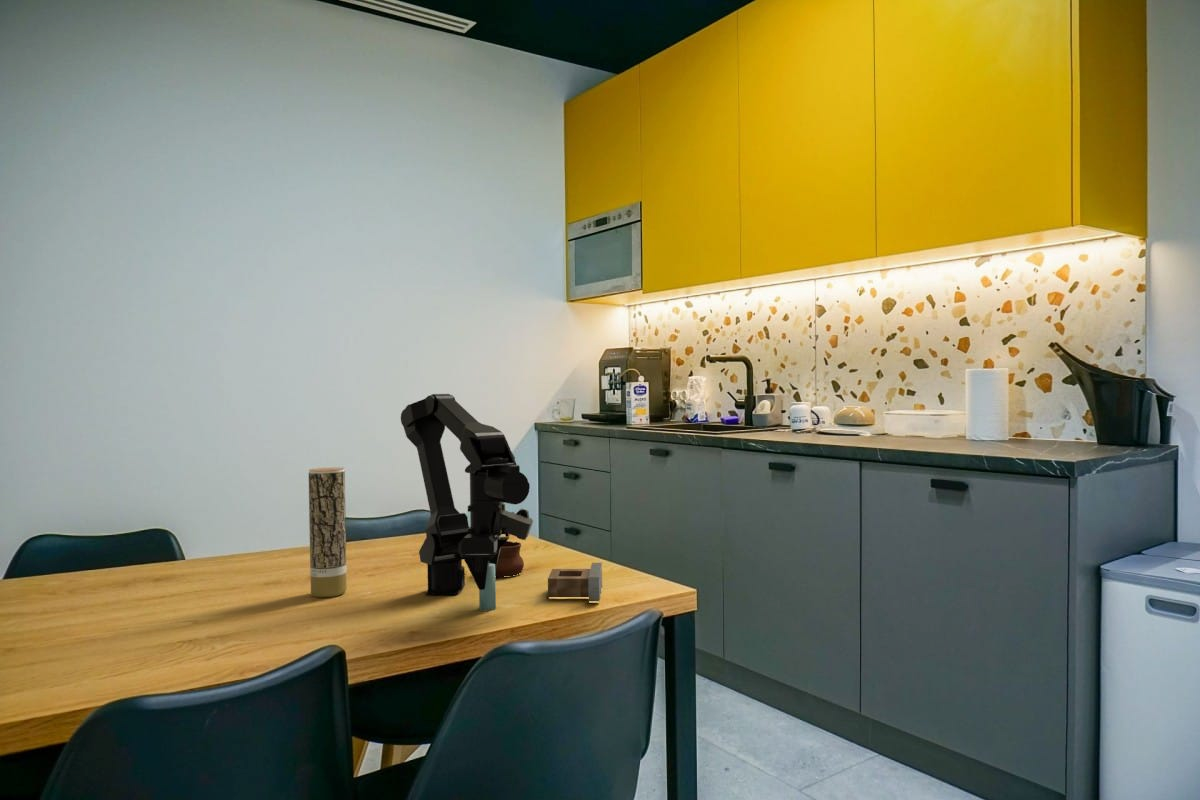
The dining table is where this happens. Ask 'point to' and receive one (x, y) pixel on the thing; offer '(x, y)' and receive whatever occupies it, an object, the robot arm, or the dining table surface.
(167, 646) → the dining table surface
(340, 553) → the paper tube
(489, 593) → the dowel
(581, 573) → the block
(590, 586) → the bar
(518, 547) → the ceramic pot
